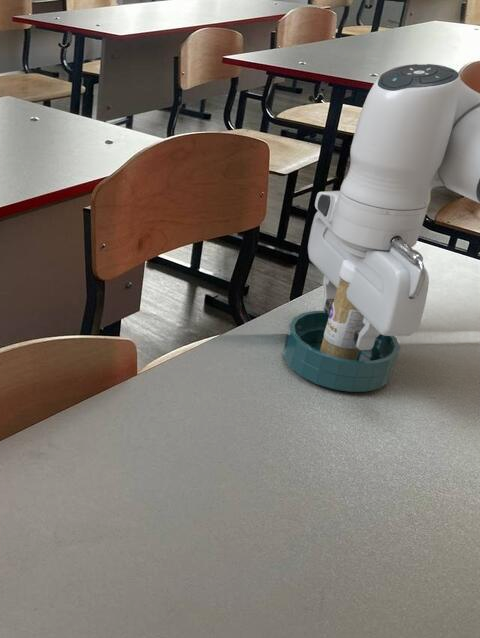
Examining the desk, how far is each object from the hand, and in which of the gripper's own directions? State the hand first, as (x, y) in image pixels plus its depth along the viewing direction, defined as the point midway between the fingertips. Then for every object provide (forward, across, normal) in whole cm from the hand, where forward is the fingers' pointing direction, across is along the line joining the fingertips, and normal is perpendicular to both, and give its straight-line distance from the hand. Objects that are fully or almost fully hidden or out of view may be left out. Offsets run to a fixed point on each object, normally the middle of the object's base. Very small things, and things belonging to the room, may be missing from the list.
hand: (345, 329), depth 90 cm
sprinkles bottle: (+5, 0, 0) cm, 5 cm away
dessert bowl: (+5, 0, 0) cm, 5 cm away
